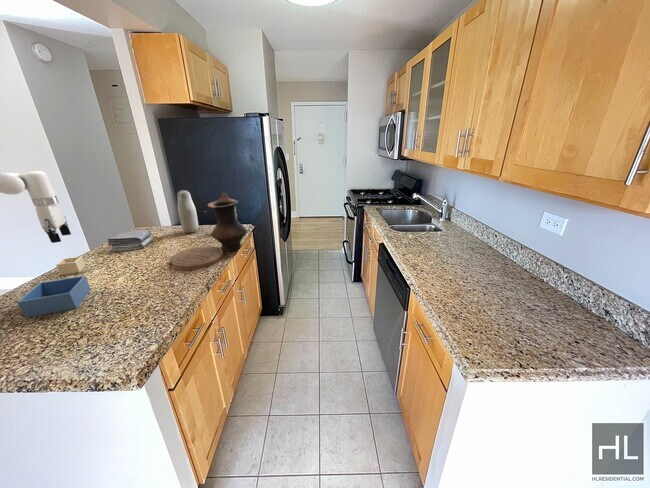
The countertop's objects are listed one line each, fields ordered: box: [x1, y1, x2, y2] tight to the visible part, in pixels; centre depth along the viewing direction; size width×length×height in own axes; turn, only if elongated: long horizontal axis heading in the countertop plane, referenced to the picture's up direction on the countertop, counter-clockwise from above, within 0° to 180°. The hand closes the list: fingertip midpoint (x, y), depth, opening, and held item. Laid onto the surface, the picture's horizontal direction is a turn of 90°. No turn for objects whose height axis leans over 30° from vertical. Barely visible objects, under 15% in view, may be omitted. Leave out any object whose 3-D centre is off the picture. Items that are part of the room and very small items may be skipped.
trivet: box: [169, 245, 225, 271], centre depth 135 cm, size 25×25×2 cm
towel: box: [107, 229, 154, 253], centre depth 151 cm, size 15×18×8 cm
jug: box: [207, 192, 248, 253], centre depth 144 cm, size 21×18×30 cm
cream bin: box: [55, 255, 87, 276], centre depth 122 cm, size 7×7×6 cm
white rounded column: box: [176, 189, 199, 234], centre depth 169 cm, size 10×10×28 cm
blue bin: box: [16, 275, 92, 319], centre depth 98 cm, size 14×14×7 cm
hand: (61, 238), depth 118 cm, fingers open, 9 cm apart
